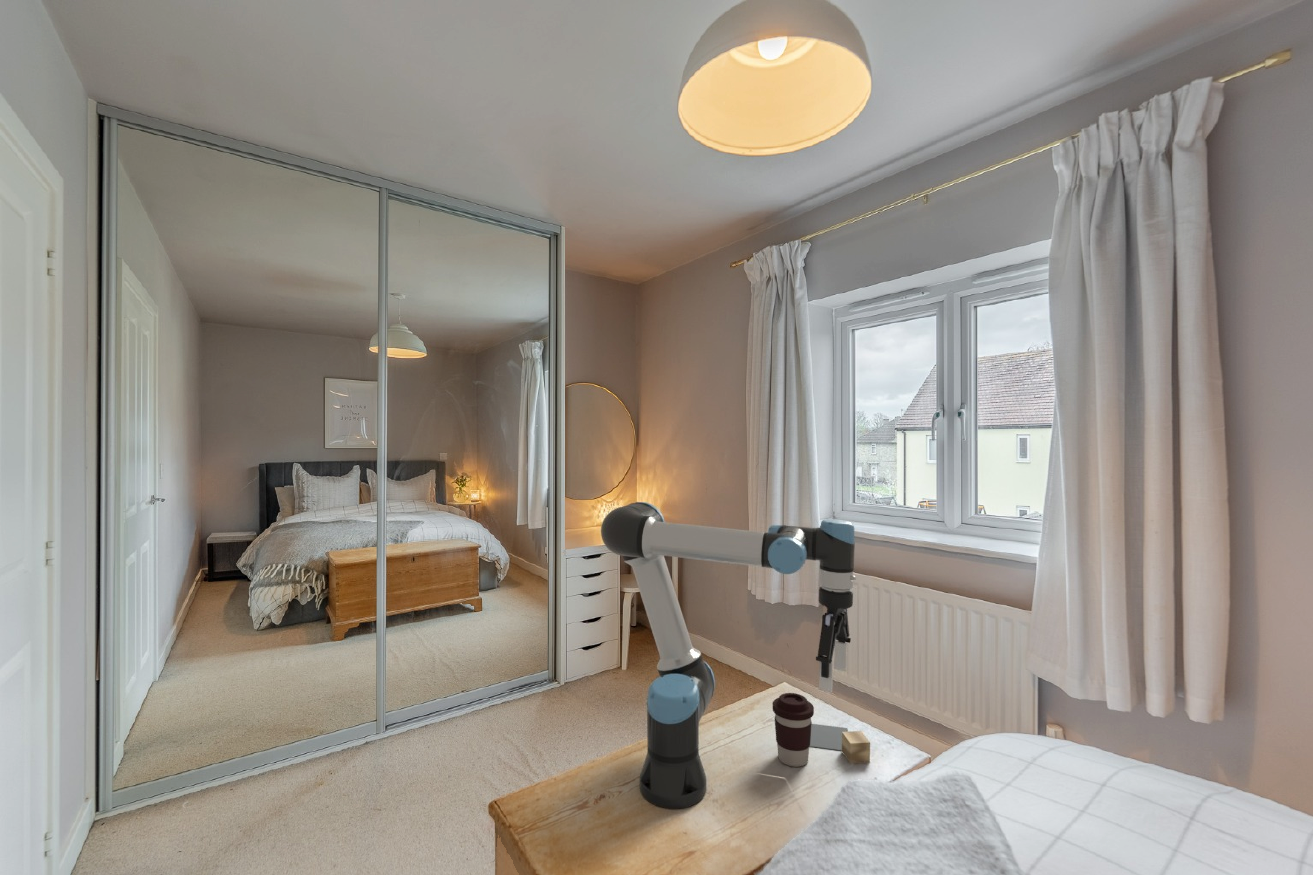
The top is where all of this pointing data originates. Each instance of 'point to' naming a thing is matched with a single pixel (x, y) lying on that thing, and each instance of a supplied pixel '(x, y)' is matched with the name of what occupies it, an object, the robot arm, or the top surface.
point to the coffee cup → (793, 728)
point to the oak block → (856, 747)
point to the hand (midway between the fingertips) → (833, 679)
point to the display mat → (827, 737)
